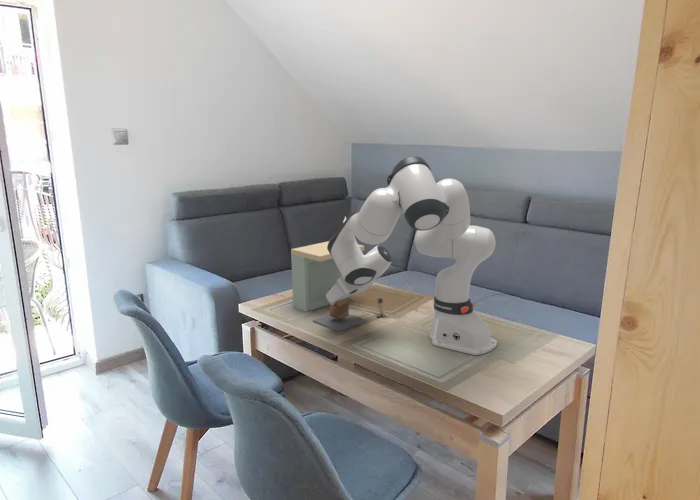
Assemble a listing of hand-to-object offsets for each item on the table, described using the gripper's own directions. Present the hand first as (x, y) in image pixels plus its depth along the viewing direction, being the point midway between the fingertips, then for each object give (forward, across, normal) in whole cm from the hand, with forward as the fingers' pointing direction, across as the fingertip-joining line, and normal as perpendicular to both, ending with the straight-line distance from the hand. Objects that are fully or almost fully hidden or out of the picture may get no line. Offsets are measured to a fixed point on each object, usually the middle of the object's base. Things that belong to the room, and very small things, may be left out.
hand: (337, 300), depth 183 cm
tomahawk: (+2, -22, +10) cm, 24 cm away
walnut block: (+4, 0, +4) cm, 6 cm away
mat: (+5, 0, +6) cm, 8 cm away
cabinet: (+16, -12, -5) cm, 21 cm away
